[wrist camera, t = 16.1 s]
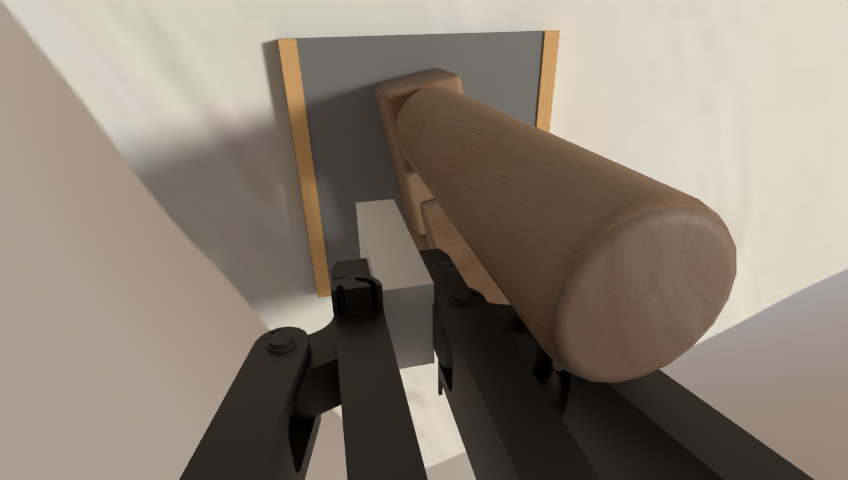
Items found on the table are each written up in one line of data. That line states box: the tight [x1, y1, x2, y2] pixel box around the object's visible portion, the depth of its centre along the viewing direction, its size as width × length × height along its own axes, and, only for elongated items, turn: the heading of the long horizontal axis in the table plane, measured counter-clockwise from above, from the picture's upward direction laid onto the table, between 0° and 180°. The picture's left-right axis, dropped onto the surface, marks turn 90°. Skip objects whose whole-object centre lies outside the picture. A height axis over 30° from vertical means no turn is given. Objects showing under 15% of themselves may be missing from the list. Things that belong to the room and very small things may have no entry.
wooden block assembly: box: [374, 68, 736, 383], centre depth 17 cm, size 4×11×18 cm, turn 12°
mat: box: [278, 31, 560, 298], centre depth 25 cm, size 14×14×1 cm
